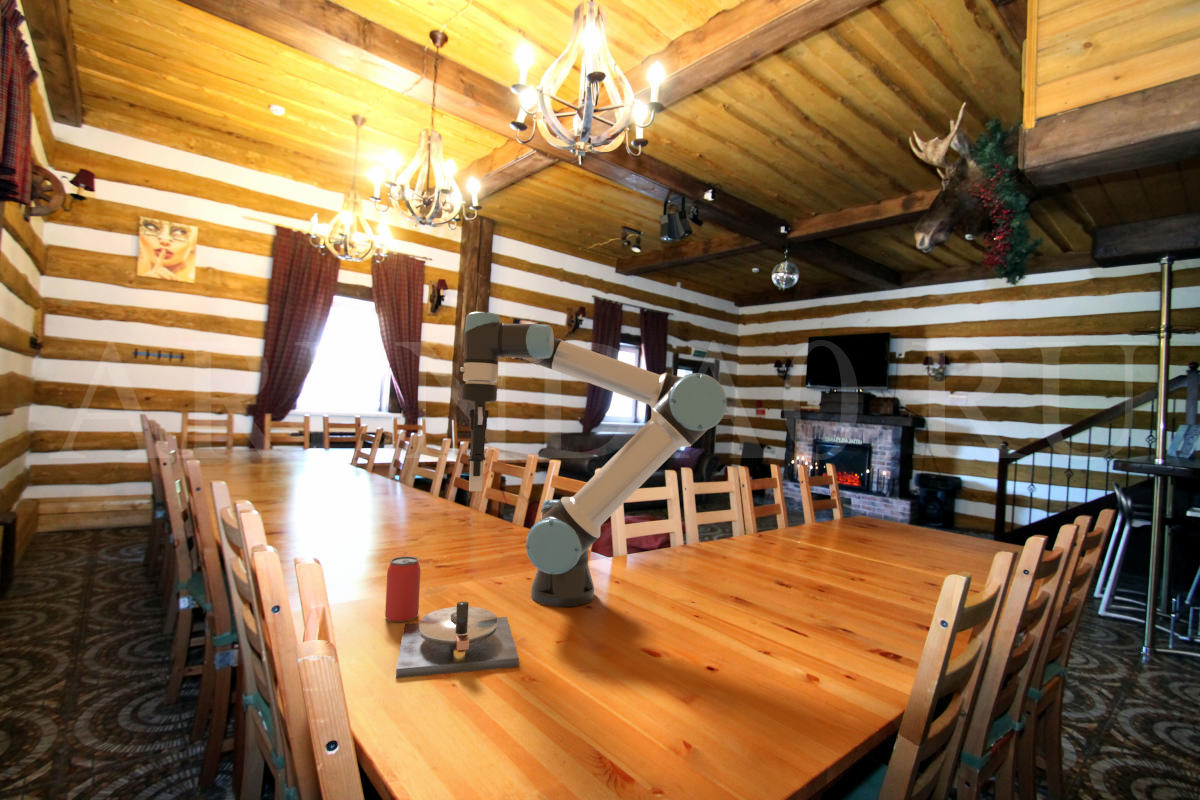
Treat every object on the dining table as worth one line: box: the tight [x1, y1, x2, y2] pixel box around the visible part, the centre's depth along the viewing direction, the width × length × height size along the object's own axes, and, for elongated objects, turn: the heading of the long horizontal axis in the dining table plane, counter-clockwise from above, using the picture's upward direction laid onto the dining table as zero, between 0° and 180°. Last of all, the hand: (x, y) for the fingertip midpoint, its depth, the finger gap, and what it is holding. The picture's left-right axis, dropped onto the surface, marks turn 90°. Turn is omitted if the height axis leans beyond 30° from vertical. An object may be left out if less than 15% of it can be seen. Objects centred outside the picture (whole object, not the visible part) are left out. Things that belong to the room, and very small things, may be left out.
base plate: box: [395, 616, 520, 679], centre depth 100 cm, size 20×19×4 cm
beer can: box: [384, 556, 421, 623], centre depth 114 cm, size 7×7×12 cm
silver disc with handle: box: [418, 601, 498, 650], centre depth 99 cm, size 16×14×6 cm
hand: (475, 490), depth 119 cm, fingers closed
